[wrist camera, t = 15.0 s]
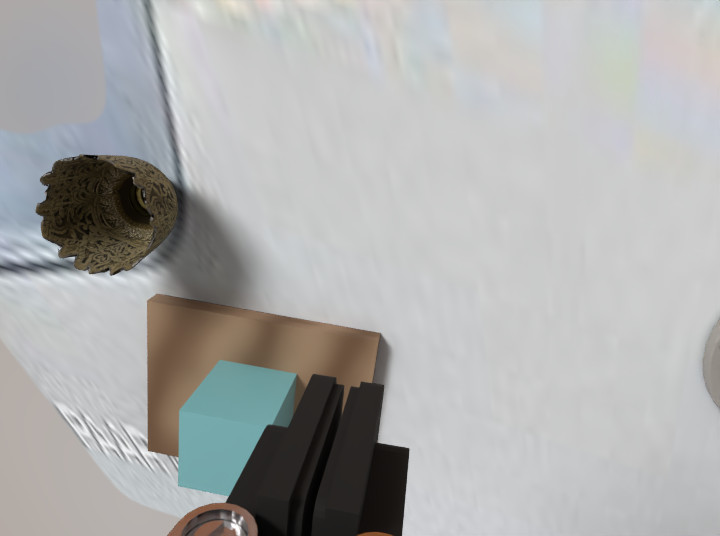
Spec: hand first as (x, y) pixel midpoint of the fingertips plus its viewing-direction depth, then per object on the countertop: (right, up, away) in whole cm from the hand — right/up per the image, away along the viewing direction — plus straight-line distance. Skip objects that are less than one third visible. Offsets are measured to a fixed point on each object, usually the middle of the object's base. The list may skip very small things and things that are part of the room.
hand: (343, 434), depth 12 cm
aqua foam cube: (-8, -7, +30) cm, 32 cm away
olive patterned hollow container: (-15, +9, +27) cm, 32 cm away
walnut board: (-8, -6, +31) cm, 33 cm away
